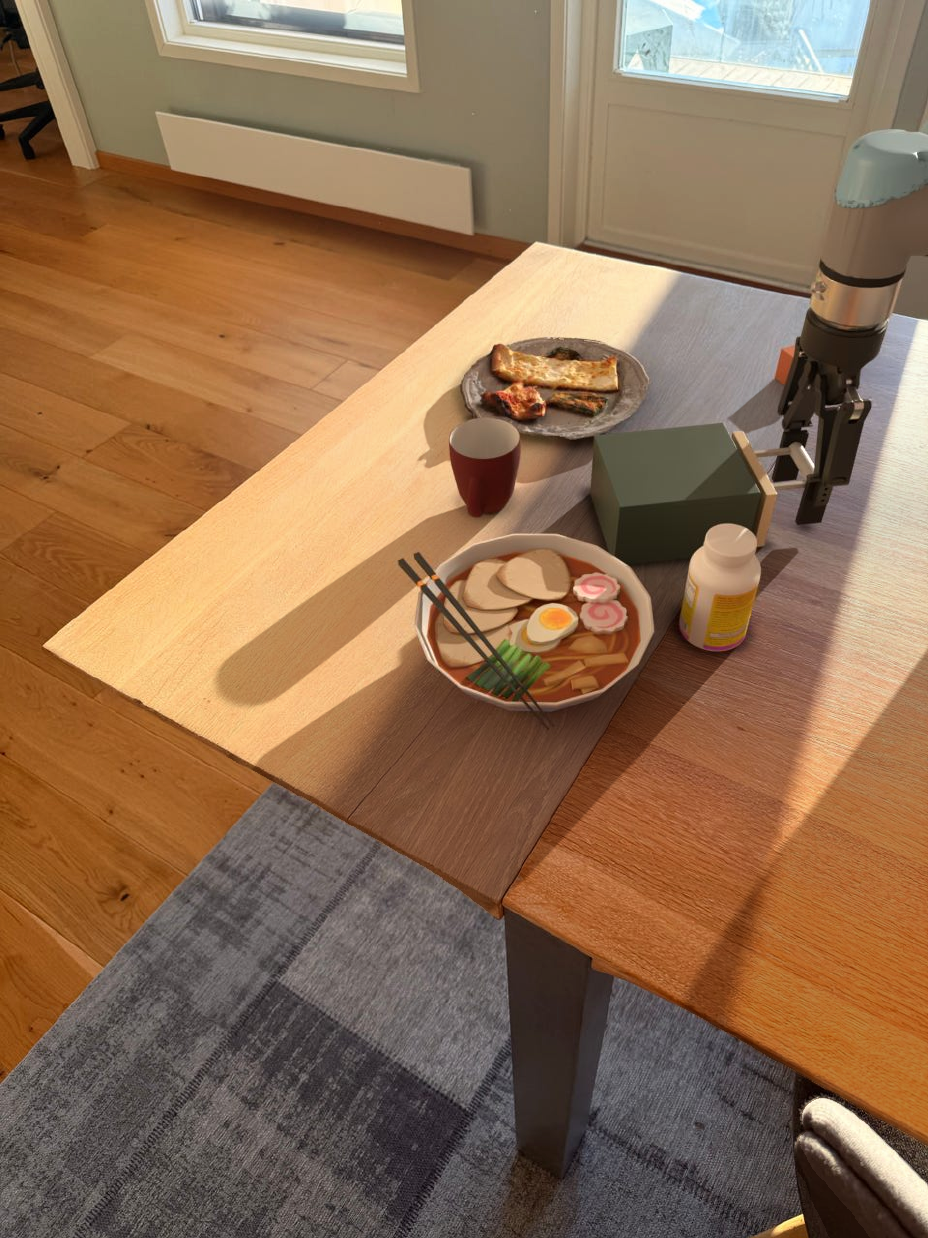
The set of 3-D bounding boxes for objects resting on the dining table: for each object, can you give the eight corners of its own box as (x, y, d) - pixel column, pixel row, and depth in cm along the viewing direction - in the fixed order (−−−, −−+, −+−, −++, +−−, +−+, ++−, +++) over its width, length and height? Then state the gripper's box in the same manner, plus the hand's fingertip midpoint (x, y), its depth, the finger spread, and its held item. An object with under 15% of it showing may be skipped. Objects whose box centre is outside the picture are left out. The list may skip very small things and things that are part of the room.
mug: (517, 544, 104) (516, 474, 96) (447, 542, 104) (441, 472, 97) (522, 486, 111) (522, 417, 103) (457, 485, 112) (452, 416, 104)
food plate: (438, 431, 120) (437, 408, 117) (490, 342, 135) (490, 320, 132) (626, 460, 113) (629, 436, 111) (659, 364, 128) (661, 341, 126)
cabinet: (710, 487, 109) (723, 422, 102) (744, 558, 100) (760, 492, 94) (589, 499, 108) (594, 435, 102) (612, 572, 100) (619, 507, 93)
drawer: (783, 477, 108) (797, 424, 103) (819, 540, 100) (836, 488, 95) (619, 493, 108) (624, 442, 102) (642, 559, 100) (649, 507, 94)
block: (822, 385, 123) (830, 355, 120) (795, 394, 122) (803, 364, 119) (800, 369, 126) (808, 340, 123) (774, 378, 125) (781, 348, 121)
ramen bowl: (702, 697, 87) (715, 640, 81) (499, 804, 80) (498, 750, 74) (557, 550, 103) (560, 493, 97) (376, 629, 95) (367, 572, 90)
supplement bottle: (757, 632, 93) (783, 538, 83) (719, 668, 90) (742, 574, 80) (702, 601, 96) (722, 506, 87) (664, 634, 93) (680, 540, 84)
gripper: (774, 268, 93) (736, 451, 110) (851, 371, 80) (794, 562, 96) (845, 262, 94) (796, 445, 110) (934, 363, 80) (863, 555, 97)
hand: (795, 499), depth 103 cm, fingers closed on drawer, 7 cm apart
